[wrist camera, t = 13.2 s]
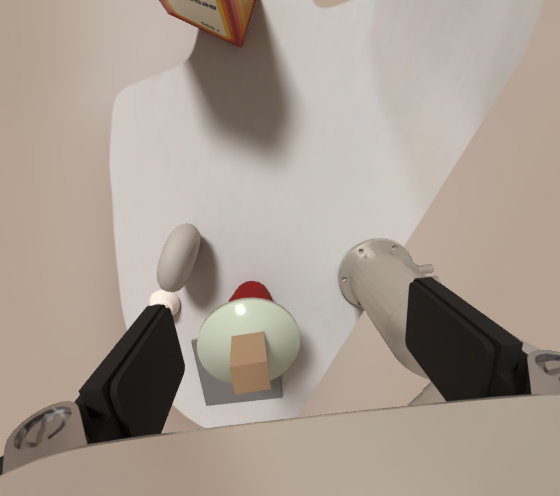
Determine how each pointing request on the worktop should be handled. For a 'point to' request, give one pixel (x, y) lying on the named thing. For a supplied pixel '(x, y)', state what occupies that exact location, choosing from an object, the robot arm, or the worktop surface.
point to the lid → (248, 343)
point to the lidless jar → (165, 300)
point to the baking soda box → (214, 16)
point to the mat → (230, 387)
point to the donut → (178, 257)
